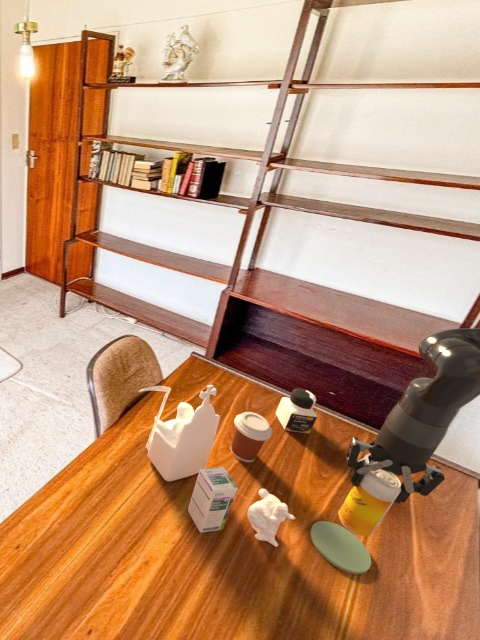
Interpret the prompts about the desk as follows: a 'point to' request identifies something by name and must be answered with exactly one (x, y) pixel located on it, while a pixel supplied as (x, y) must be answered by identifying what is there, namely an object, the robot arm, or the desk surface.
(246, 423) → the coffee cup
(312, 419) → the medicine bottle
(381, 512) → the beer can
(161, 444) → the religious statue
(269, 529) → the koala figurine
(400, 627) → the desk surface
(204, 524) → the syrup box
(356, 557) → the coaster
